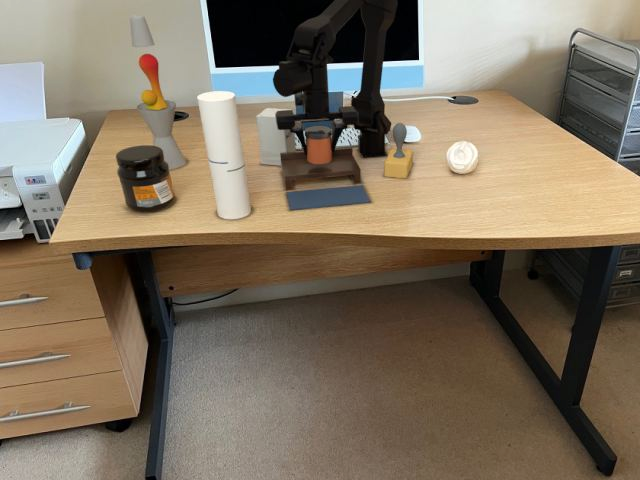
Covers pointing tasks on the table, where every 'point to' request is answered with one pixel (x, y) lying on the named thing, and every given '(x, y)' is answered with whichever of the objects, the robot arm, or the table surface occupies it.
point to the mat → (327, 197)
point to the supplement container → (145, 178)
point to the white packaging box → (273, 137)
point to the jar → (318, 144)
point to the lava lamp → (155, 98)
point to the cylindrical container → (225, 153)
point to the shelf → (319, 166)
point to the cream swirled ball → (462, 157)
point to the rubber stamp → (398, 155)
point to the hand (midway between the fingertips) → (319, 153)
